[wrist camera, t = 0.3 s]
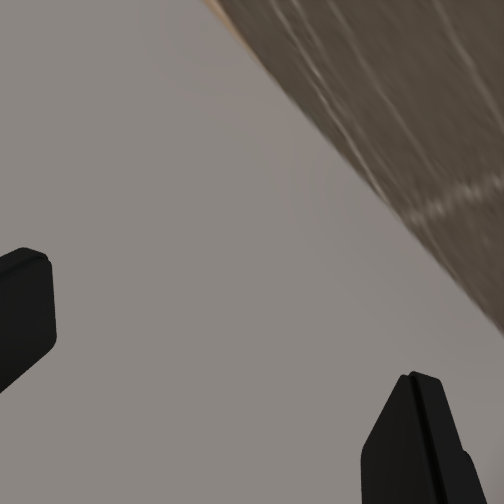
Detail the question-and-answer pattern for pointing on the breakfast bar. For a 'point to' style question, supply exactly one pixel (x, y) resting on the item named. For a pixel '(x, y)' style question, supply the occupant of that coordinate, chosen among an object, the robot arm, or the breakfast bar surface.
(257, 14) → the breakfast bar surface
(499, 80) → the breakfast bar surface
